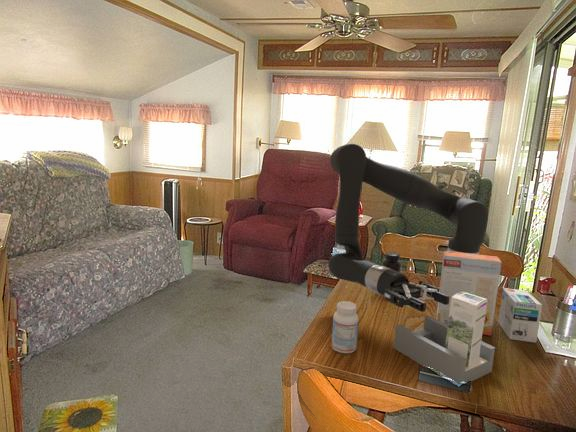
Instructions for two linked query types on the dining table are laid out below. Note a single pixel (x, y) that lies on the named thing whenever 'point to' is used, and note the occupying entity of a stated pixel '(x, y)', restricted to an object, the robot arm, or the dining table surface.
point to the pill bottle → (345, 327)
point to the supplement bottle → (392, 261)
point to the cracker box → (470, 282)
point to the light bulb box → (520, 315)
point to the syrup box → (466, 326)
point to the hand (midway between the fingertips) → (436, 304)
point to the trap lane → (441, 351)
